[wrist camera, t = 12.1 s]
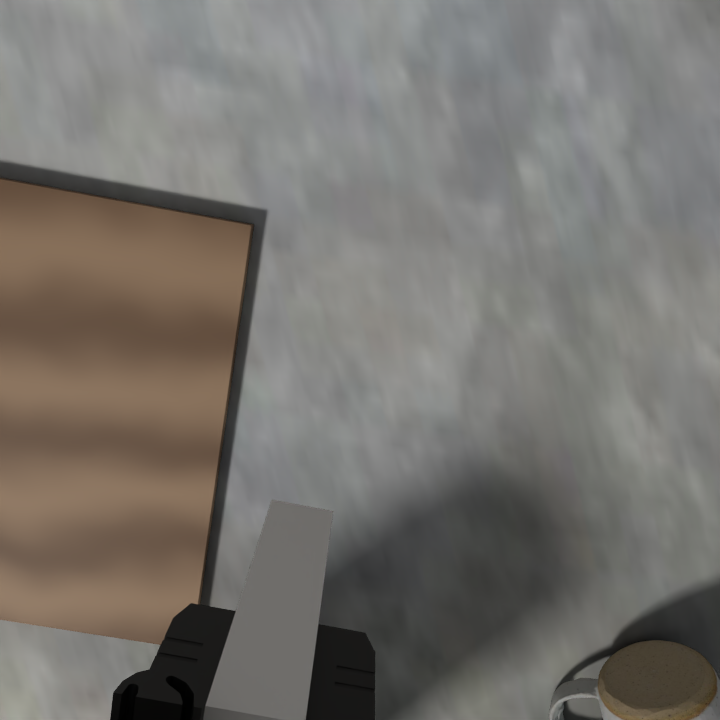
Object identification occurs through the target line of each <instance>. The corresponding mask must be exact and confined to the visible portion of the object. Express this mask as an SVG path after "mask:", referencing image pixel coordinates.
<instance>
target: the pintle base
mask: <svg viewBox="0 0 720 720" xmlns="http://www.w3.org/2000/svg"><path fill="white" fill-rule="evenodd" d="M253 228H254V224H249V223H243V222H238V221H233V220H227V219H222V218H216V217H211V216H206V215H200V214H195V213H189V212H184V211H179V210H173V209H168V208H162V207H157V206H152V205H146V204H141V203H135V202H130V201H125V200H119V199H114V198H108V197H103V196H98V195H92V194H87V193H81V192H76V191H71V190H65V189H60V188H54V187H49V186H44V185H38V184H33V183H27V182H22V181H17V180H11V179H6V178H0V620H7V621H13V622H19V623H26V624H32V625H38V626H45V627H51V628H57V629H64V630H70V631H77V632H83V633H89V634H96V635H102V636H108V637H115V638H121V639H128V640H134V641H140V642H147V643H153V644H159V645H161V643H162V641H163V640H164V637H165V635H166V632H167V630H168V628H169V626H170V624H171V621H172V619H173V617H175V616H176V615H177V614H178V613H179V612H181V611H182V610H183V609H184V608H186V607H187V606H188V605H189V604H191V603H193V604H199V605H200V601H201V594H202V587H203V580H204V573H205V566H206V559H207V552H208V545H209V538H210V531H211V524H212V516H213V509H214V502H215V495H216V488H217V481H218V474H219V467H220V460H221V453H222V446H223V439H224V432H225V425H226V418H227V411H228V404H229V397H230V390H231V383H232V376H233V369H234V362H235V355H236V348H237V341H238V334H239V327H240V320H241V313H242V306H243V299H244V292H245V285H246V278H247V271H248V264H249V257H250V249H251V242H252V235H253Z"/></svg>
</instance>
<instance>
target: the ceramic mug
mask: <svg viewBox="0 0 720 720" xmlns="http://www.w3.org/2000/svg"><path fill="white" fill-rule="evenodd" d="M582 697H584V698H597V699H598V700H599V705H600V709H601V713H602V717H603V720H720V679H719V678H718V676H717V674H716V672H715V670H714V668H713V667H712V666H711V664H710V663H709V662H708V661H707V660H706V658H705V657H703V656H702V655H701V654H700V653H699V652H697V651H695V650H693V649H691V648H690V647H688V646H685V645H682V644H679V643H676V642H670V641H662V640H651V641H644V642H638V643H634V644H631V645H629V646H627V647H624V648H622V649H620V650H619V651H618V652H616V653H615V654H613V655H612V656H611V657H610V658H609V659H608V660H607V661H606V662H605V664H604V665H603V667H602V669H601V671H600V674H599V679H591V678H579V679H576V680H571V681H569V682H565V683H563V684H562V685H560V686H559V687H558V688H557V689H556V690H555V692H554V694H553V697H552V700H551V705H550V709H549V720H564V716H563V709H564V703H563V702H564V701H567V700H569V699H575V698H582Z"/></svg>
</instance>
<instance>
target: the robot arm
mask: <svg viewBox="0 0 720 720" xmlns="http://www.w3.org/2000/svg"><path fill="white" fill-rule="evenodd" d="M332 517H333V511H330V510H325V509H319V508H314V507H309V506H303V505H298V504H293V503H287V502H282V501H276V500H271V504H270V507H269V510H268V513H267V516H266V519H265V522H264V525H263V528H262V532H261V535H260V538H259V541H258V544H257V547H256V550H255V553H254V556H253V559H252V563H251V566H250V569H249V572H248V575H247V578H246V581H245V584H244V587H243V590H242V594H241V597H240V600H239V603H238V606H237V609H236V611H232V610H226V609H221V608H215V607H210V606H204V605H199V604H193V603H191V604H189V605H188V606H187V607H186V608H184V609H183V610H182V611H181V612H179V613H178V614H177V615H176V616H175V617H173V619H172V621H171V624H170V626H169V628H168V630H167V632H166V635H165V637H164V640H163V641H162V643H161V645H160V648H159V650H158V652H157V656H155V659H154V661H153V663H152V665H151V667H150V670H146V671H142V672H137V673H135V674H134V675H132V676H130V677H129V678H127V679H125V680H124V681H122V683H121V684H120V685H119V686H118V688H117V689H116V690H115V691H114V693H113V701H112V710H111V718H110V720H375V693H374V691H375V651H374V649H373V647H372V645H371V643H370V641H369V639H368V637H367V635H366V634H365V633H363V632H358V631H352V630H347V629H341V628H336V627H330V626H325V625H319V624H318V623H319V615H320V608H321V600H322V593H323V585H324V578H325V570H326V563H327V555H328V547H329V540H330V532H331V525H332Z"/></svg>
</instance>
